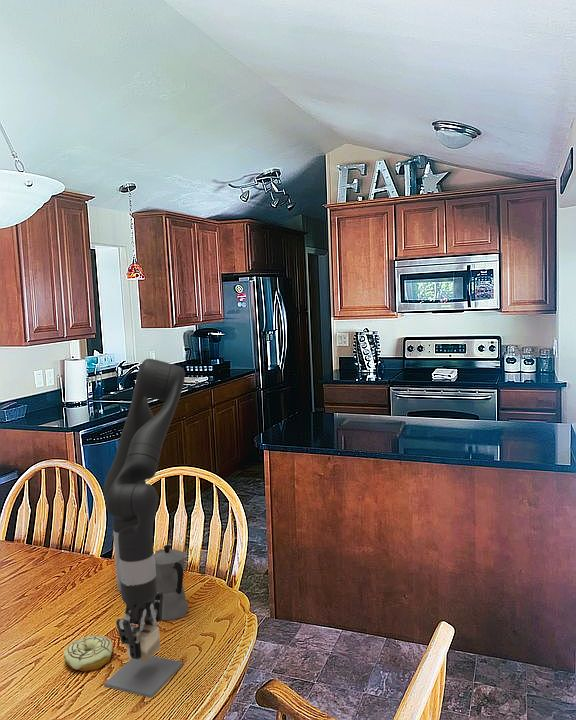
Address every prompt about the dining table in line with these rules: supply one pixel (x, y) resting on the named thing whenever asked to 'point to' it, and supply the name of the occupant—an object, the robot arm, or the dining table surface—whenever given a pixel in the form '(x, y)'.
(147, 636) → the letter block
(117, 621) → the robot arm
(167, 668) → the slate coaster
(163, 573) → the coffeepot
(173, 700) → the dining table surface
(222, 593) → the dining table surface
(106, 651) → the decorated donut
